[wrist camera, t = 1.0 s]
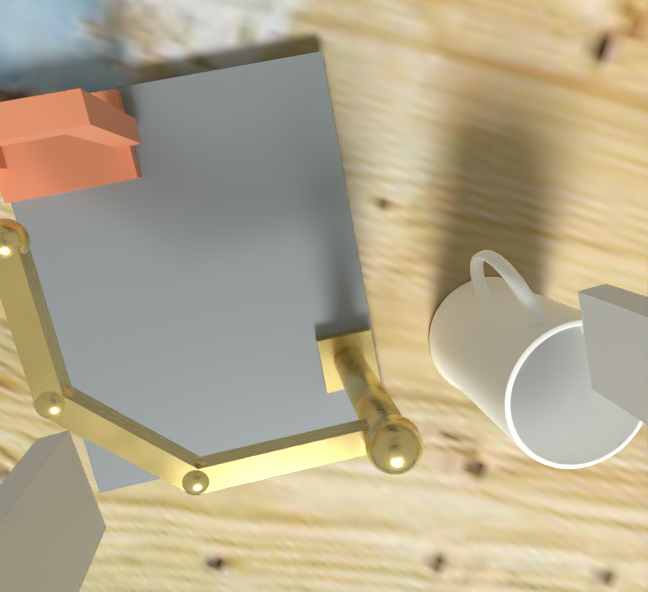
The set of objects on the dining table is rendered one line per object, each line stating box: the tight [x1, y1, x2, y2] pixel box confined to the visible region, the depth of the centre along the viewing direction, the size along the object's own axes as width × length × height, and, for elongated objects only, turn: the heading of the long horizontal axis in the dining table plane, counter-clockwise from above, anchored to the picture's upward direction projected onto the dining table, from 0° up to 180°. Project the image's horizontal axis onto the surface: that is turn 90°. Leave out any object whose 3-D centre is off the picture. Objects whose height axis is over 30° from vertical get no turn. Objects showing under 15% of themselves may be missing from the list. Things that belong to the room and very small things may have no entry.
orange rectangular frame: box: [0, 88, 142, 203], centre depth 28 cm, size 5×9×12 cm, turn 101°
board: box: [11, 51, 381, 493], centre depth 37 cm, size 25×20×1 cm
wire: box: [0, 219, 423, 495], centre depth 29 cm, size 15×17×14 cm
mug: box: [429, 250, 643, 469], centre depth 34 cm, size 12×8×12 cm
